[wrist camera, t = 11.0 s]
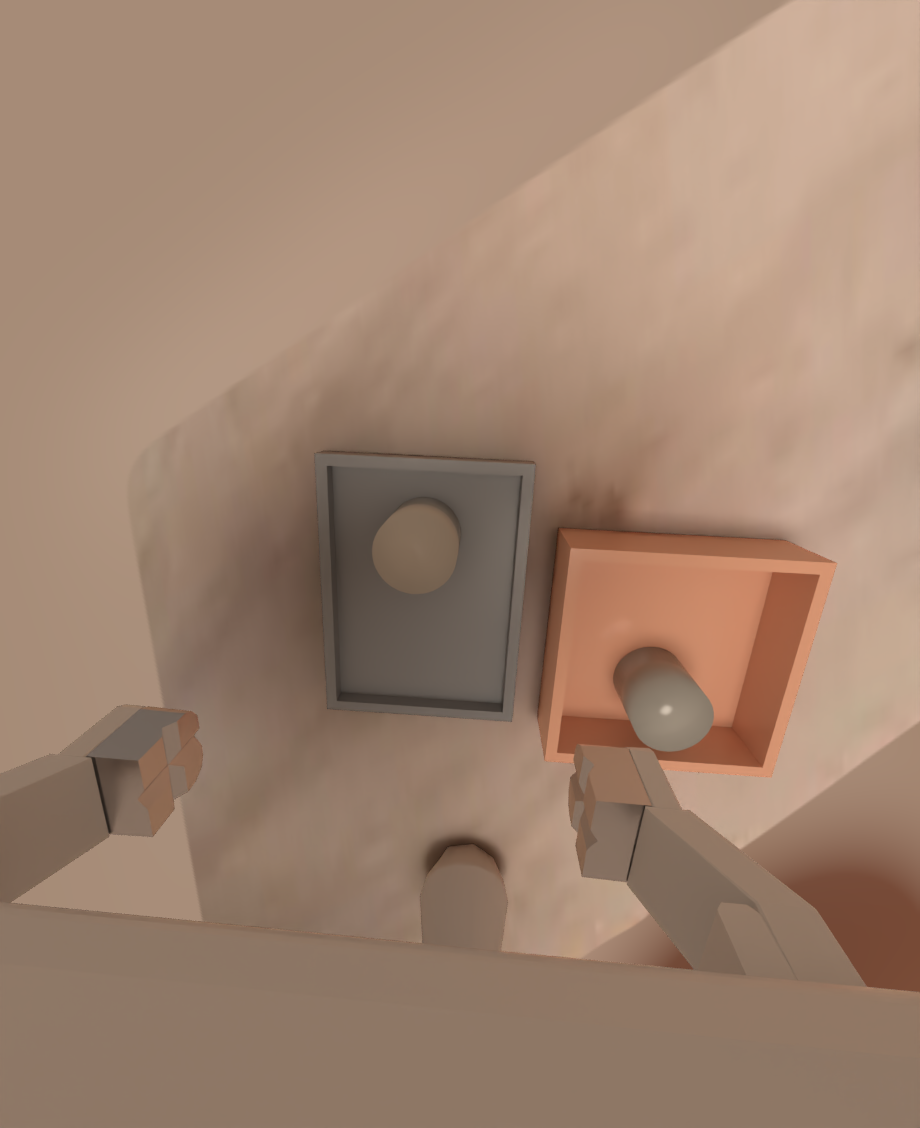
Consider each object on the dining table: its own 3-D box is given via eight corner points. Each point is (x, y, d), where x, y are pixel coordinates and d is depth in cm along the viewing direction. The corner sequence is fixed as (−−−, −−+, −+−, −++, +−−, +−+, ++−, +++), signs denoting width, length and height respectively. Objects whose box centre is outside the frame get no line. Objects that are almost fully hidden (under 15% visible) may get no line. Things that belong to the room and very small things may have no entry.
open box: (734, 730, 30) (771, 777, 26) (537, 716, 30) (544, 761, 26) (785, 540, 26) (837, 563, 22) (558, 527, 26) (570, 548, 22)
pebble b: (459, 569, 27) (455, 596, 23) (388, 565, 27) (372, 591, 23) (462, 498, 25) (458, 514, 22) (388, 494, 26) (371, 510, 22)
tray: (510, 707, 30) (511, 721, 29) (334, 695, 30) (327, 708, 29) (533, 461, 25) (535, 464, 24) (323, 450, 26) (314, 453, 24)
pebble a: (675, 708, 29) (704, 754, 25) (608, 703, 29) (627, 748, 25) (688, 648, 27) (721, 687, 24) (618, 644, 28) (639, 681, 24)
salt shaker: (445, 903, 35) (423, 1167, 23) (411, 848, 34) (369, 1099, 22) (518, 882, 34) (537, 1147, 22) (487, 824, 33) (488, 1074, 21)
